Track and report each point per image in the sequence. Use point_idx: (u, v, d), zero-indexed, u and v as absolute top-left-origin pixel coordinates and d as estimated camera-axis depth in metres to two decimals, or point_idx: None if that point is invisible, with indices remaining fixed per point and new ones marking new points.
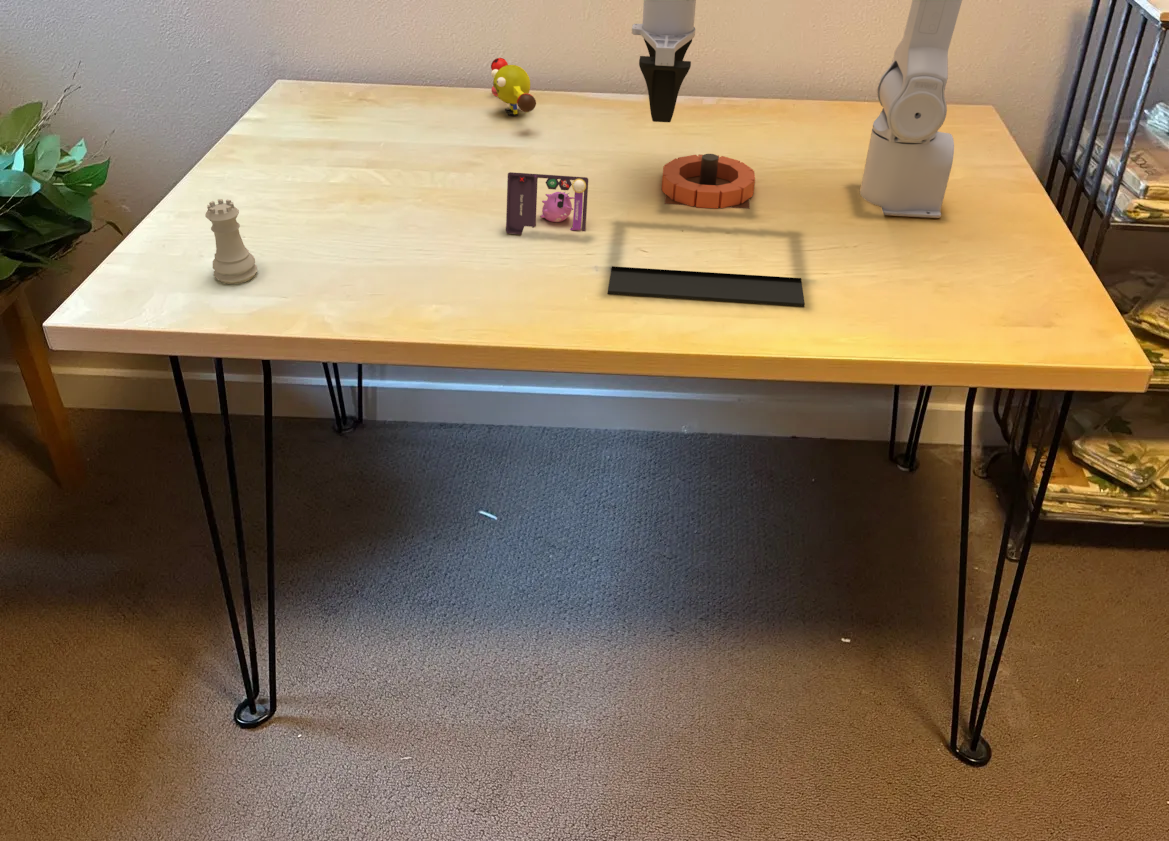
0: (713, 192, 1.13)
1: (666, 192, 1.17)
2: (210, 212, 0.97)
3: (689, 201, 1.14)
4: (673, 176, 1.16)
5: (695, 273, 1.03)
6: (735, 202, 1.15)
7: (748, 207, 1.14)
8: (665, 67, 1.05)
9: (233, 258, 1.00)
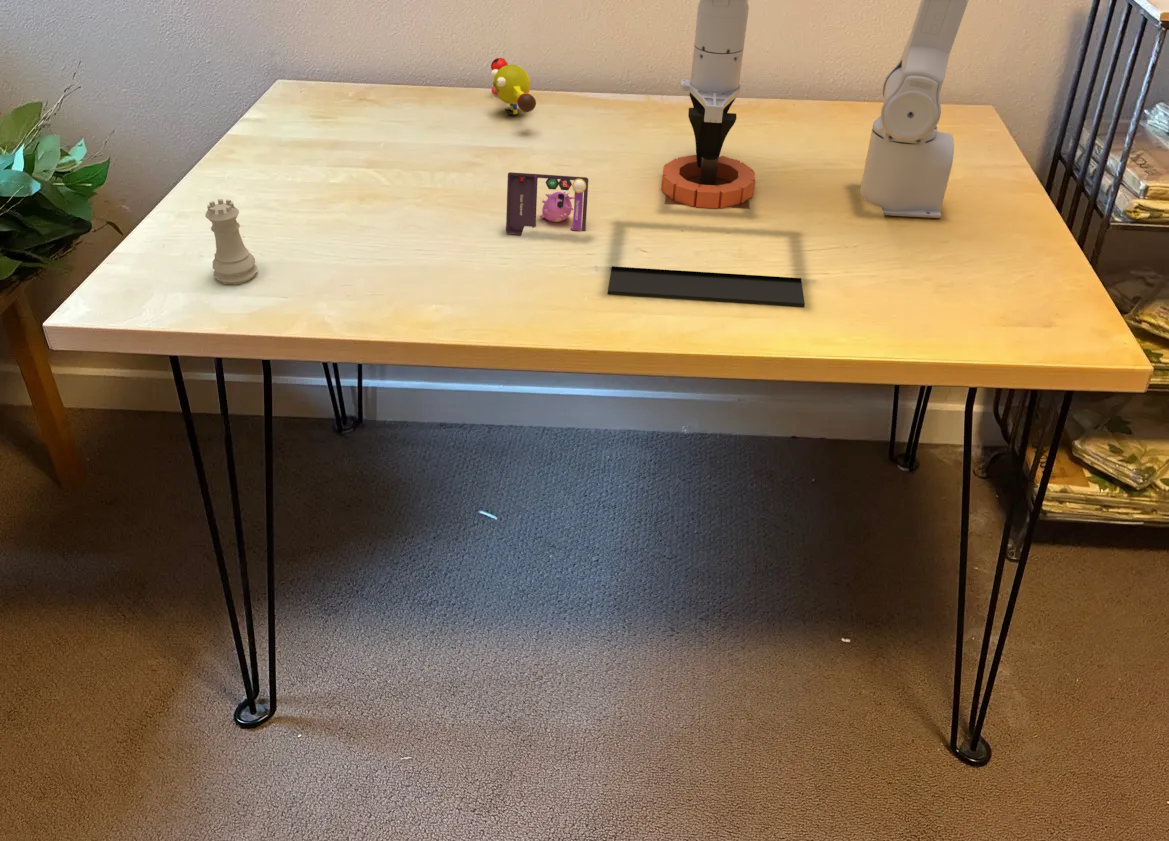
0: (713, 192, 1.13)
1: (666, 192, 1.17)
2: (210, 212, 0.97)
3: (689, 201, 1.14)
4: (673, 176, 1.16)
5: (695, 273, 1.03)
6: (735, 202, 1.15)
7: (748, 207, 1.14)
8: None
9: (233, 258, 1.00)
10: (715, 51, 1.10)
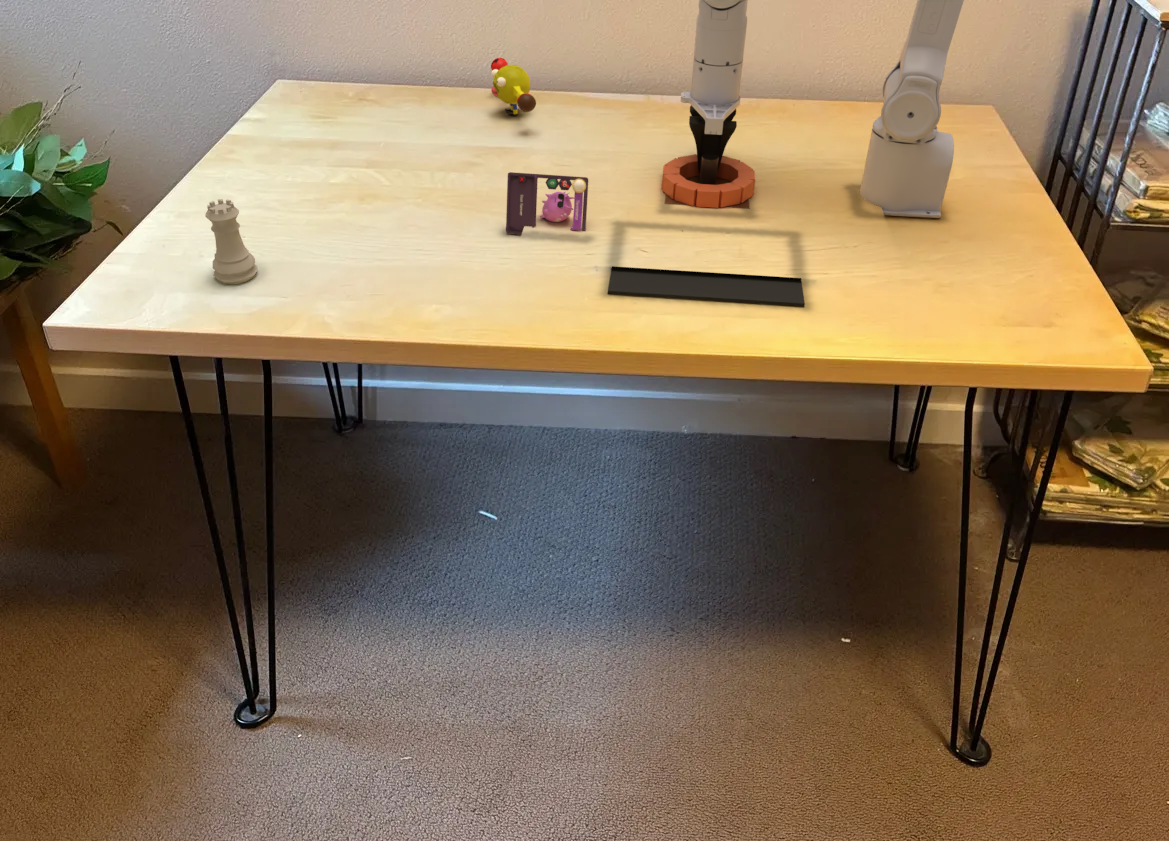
0: (713, 191, 1.13)
1: (666, 192, 1.17)
2: (210, 212, 0.97)
3: (689, 201, 1.14)
4: (673, 176, 1.16)
5: (695, 273, 1.03)
6: (735, 202, 1.15)
7: (748, 207, 1.14)
8: None
9: (233, 258, 1.00)
10: (714, 63, 1.11)
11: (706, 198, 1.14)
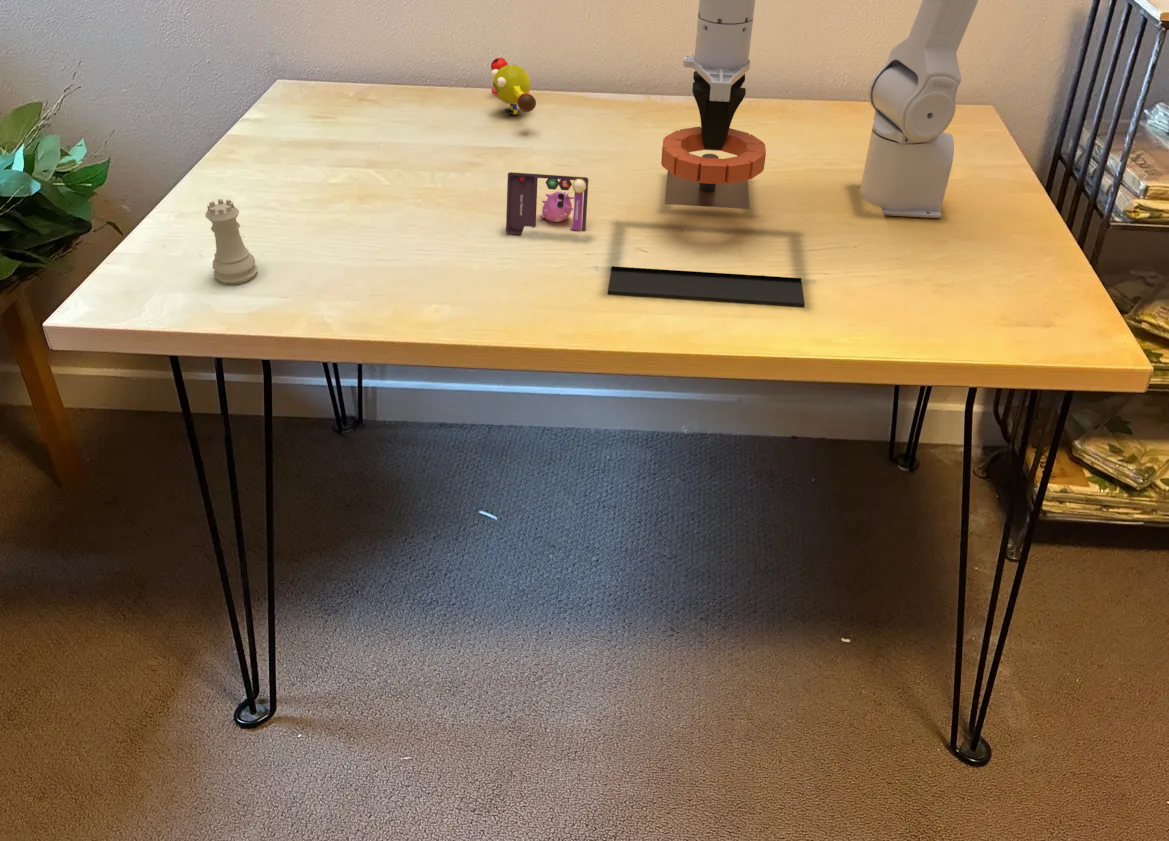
0: (719, 166, 1.01)
1: (666, 167, 1.04)
2: (210, 212, 0.97)
3: (692, 176, 1.02)
4: (674, 149, 1.04)
5: (695, 273, 1.03)
6: (743, 178, 1.02)
7: (748, 207, 1.14)
8: None
9: (233, 258, 1.00)
10: (734, 22, 0.99)
11: (711, 173, 1.01)
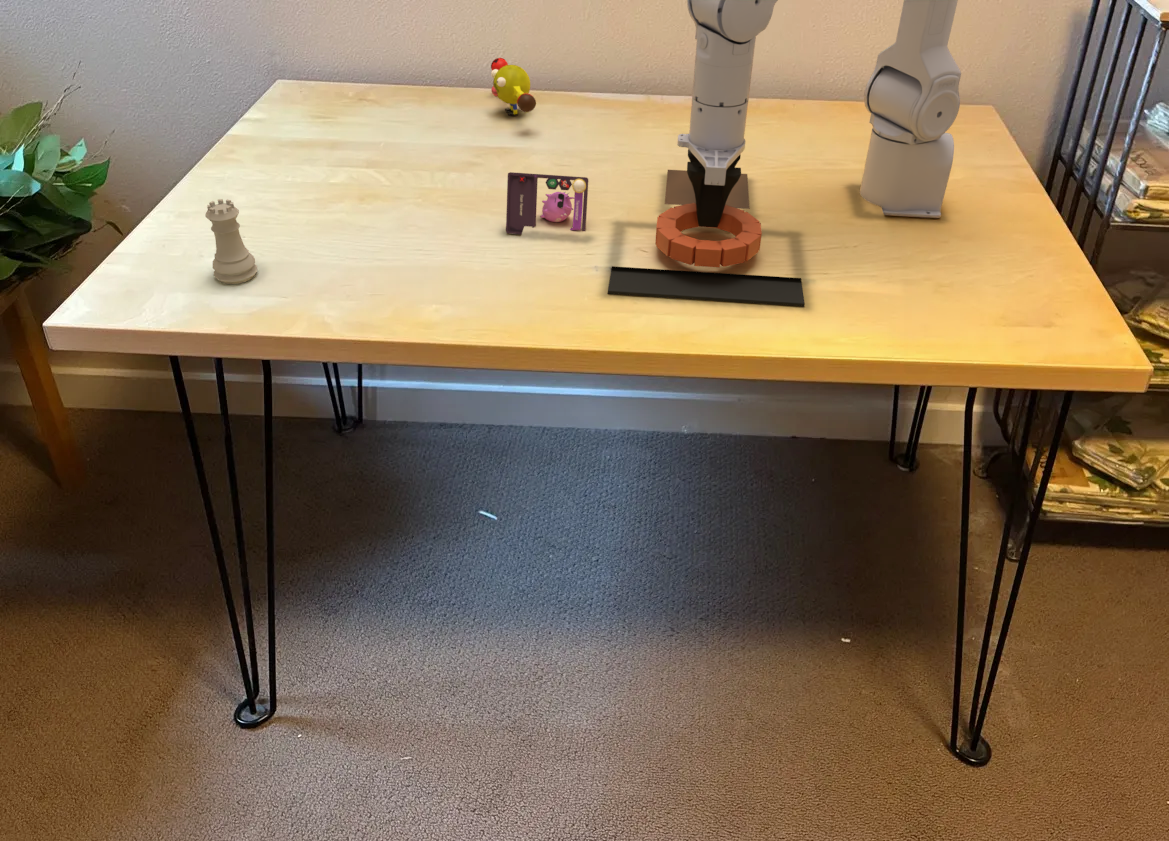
0: (714, 249, 0.99)
1: (660, 247, 1.03)
2: (210, 212, 0.97)
3: (687, 259, 1.00)
4: (669, 230, 1.02)
5: (695, 273, 1.03)
6: (739, 260, 1.00)
7: (748, 207, 1.14)
8: None
9: (233, 258, 1.00)
10: (735, 104, 0.97)
11: (706, 257, 0.99)
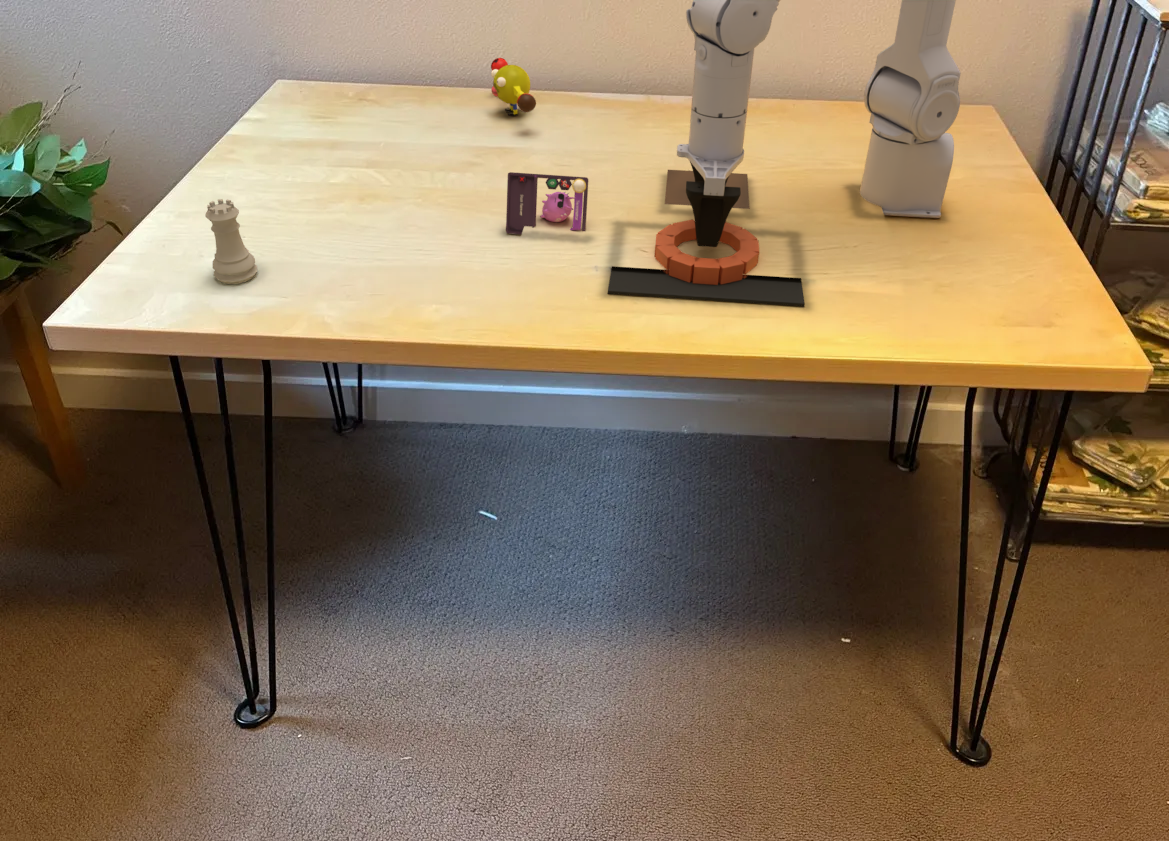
0: (712, 267, 1.00)
1: None
2: (210, 212, 0.97)
3: (686, 277, 1.01)
4: (668, 247, 1.03)
5: None
6: (736, 278, 1.02)
7: (748, 207, 1.14)
8: (714, 195, 0.99)
9: (233, 258, 1.00)
10: (734, 115, 0.98)
11: (704, 274, 1.01)
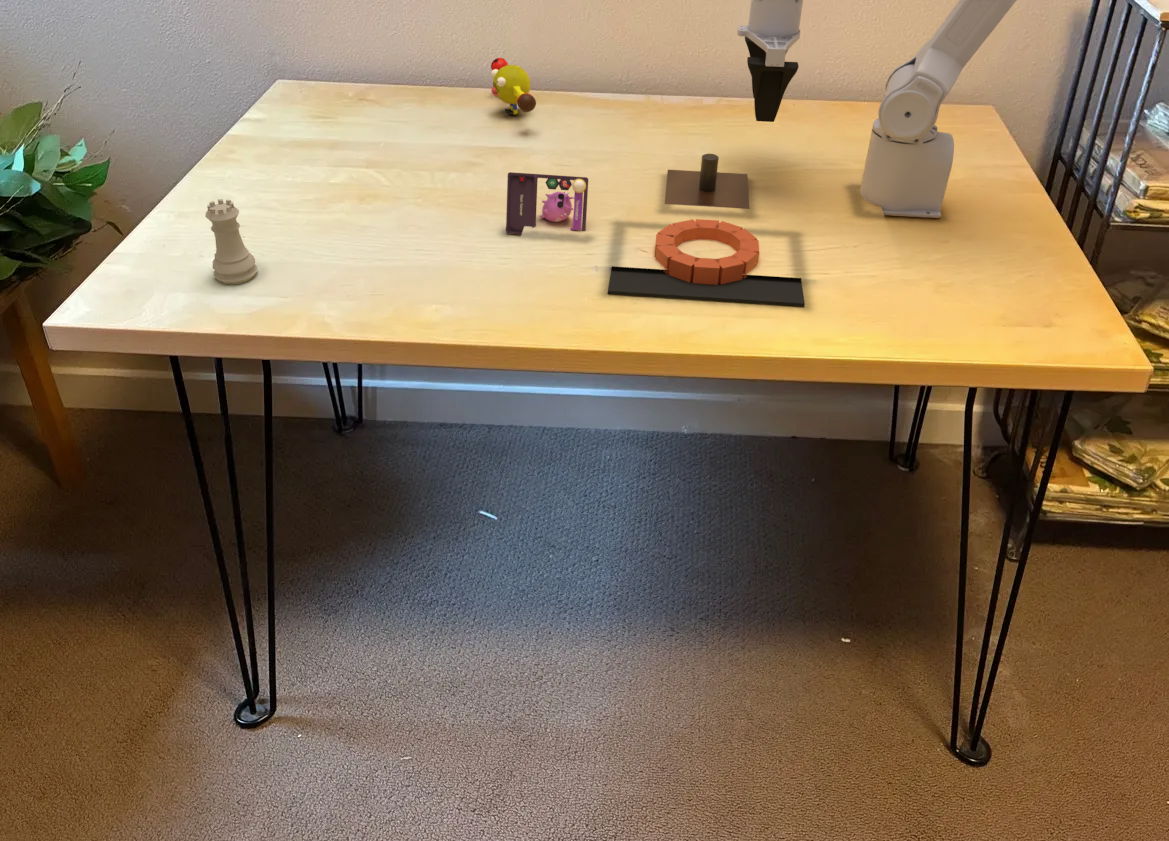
0: (712, 267, 1.00)
1: None
2: (210, 212, 0.97)
3: (686, 277, 1.01)
4: (668, 247, 1.03)
5: None
6: (736, 278, 1.02)
7: (748, 207, 1.14)
8: (774, 68, 1.08)
9: (233, 258, 1.00)
10: None
11: (704, 274, 1.01)
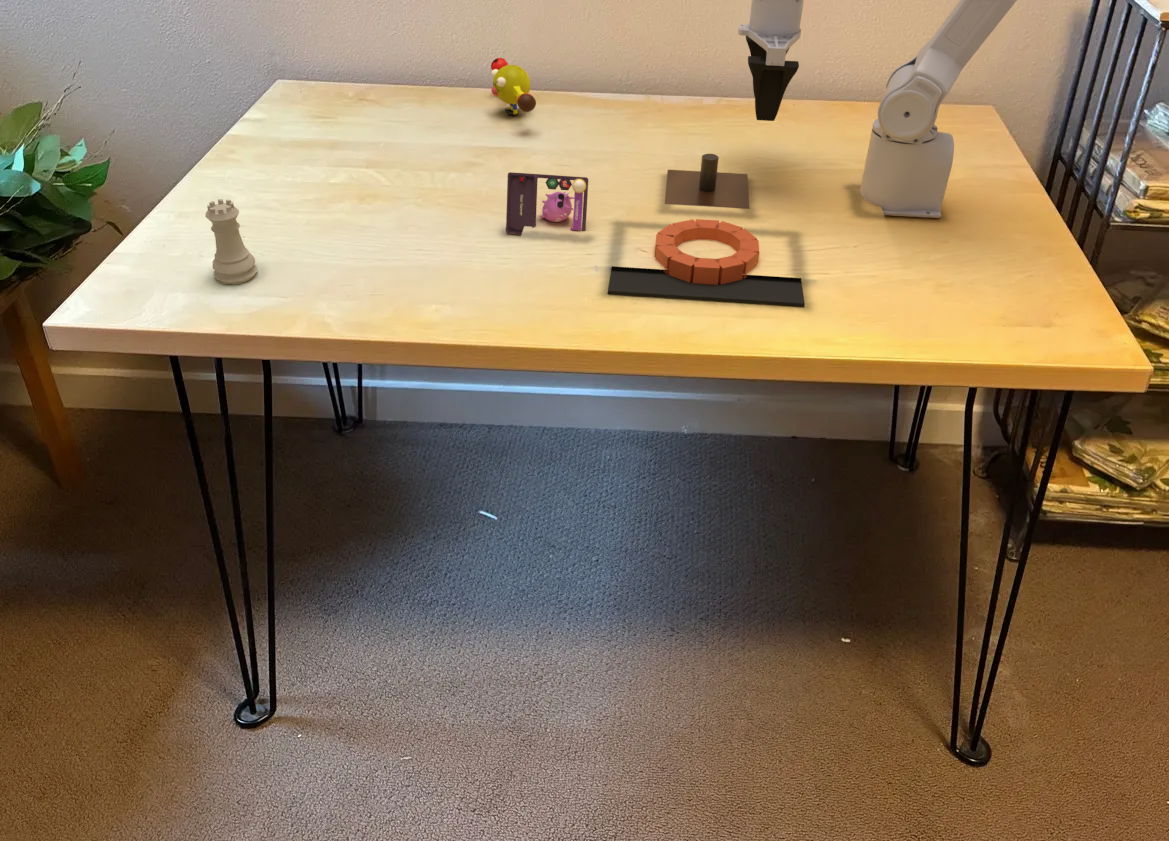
0: (712, 267, 1.00)
1: None
2: (210, 212, 0.97)
3: (686, 277, 1.01)
4: (668, 247, 1.03)
5: None
6: (736, 278, 1.02)
7: (748, 207, 1.14)
8: (774, 67, 1.08)
9: (233, 258, 1.00)
10: None
11: (704, 274, 1.01)
